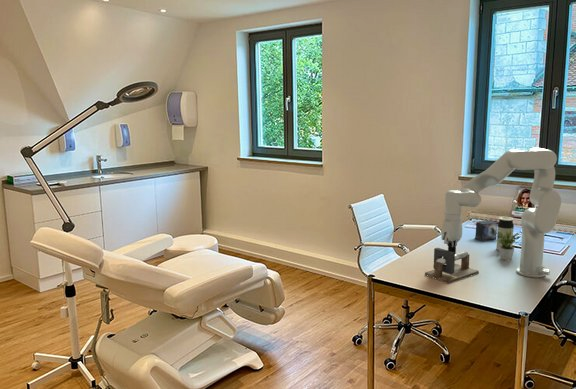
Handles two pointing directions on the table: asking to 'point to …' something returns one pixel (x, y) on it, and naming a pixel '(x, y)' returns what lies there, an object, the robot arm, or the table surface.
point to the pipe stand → (459, 270)
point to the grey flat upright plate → (449, 259)
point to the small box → (486, 230)
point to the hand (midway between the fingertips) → (451, 254)
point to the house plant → (507, 245)
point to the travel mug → (504, 228)
